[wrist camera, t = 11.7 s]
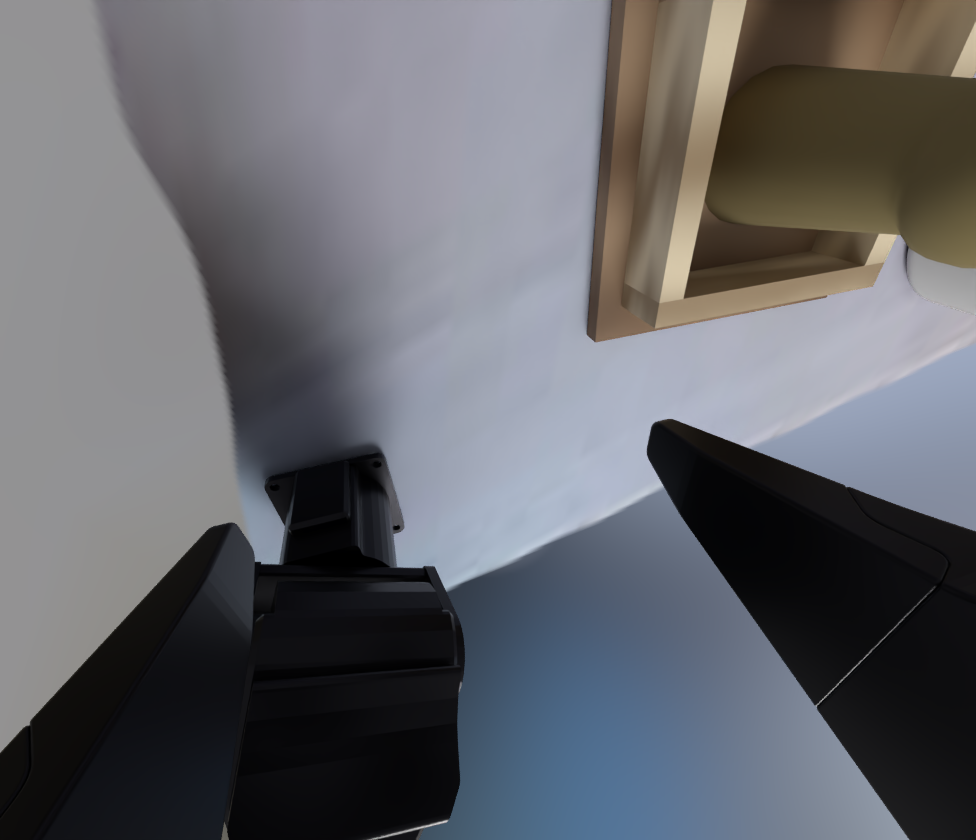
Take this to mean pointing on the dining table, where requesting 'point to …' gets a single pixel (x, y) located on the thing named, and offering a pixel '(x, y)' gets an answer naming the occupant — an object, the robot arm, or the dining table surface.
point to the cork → (852, 156)
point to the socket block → (692, 140)
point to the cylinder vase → (942, 283)
